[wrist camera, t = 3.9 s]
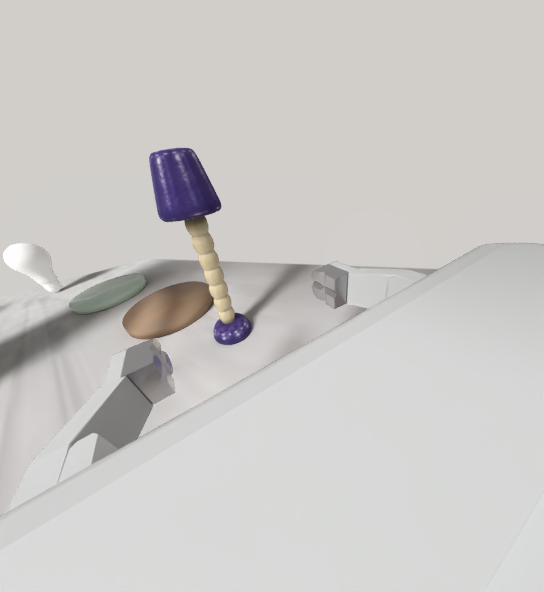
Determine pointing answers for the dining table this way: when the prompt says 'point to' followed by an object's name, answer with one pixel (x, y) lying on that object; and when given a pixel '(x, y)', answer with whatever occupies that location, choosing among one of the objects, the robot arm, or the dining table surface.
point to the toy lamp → (196, 227)
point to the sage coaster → (108, 294)
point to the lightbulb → (33, 264)
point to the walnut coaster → (168, 310)
